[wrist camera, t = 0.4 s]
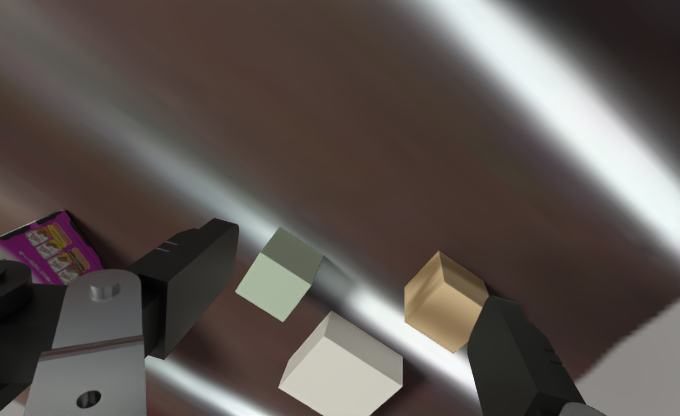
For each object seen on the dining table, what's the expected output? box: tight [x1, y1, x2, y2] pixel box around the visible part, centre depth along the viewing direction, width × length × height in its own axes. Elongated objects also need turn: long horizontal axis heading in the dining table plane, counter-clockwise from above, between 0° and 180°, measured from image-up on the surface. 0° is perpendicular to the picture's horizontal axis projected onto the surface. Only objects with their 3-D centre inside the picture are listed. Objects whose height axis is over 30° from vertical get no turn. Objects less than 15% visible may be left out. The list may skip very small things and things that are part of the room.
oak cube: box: [405, 251, 489, 354], centre depth 30 cm, size 5×5×5 cm
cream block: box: [278, 310, 403, 416], centre depth 36 cm, size 9×9×4 cm
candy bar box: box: [0, 210, 107, 285], centre depth 31 cm, size 11×5×16 cm, turn 24°
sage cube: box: [235, 227, 324, 322], centre depth 32 cm, size 5×5×5 cm
